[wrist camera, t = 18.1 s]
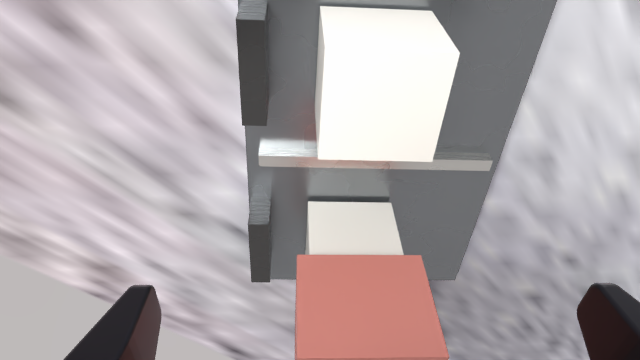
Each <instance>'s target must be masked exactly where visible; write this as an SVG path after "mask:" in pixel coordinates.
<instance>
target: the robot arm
mask: <svg viewBox="0 0 640 360" xmlns="http://www.w3.org/2000/svg"><path fill="white" fill-rule="evenodd" d="M577 317H578V321H579V324H580V328H581V331H582V334H583V338H584V341H585V344H586V348H587V351H588V354H589V357H590V360H640V302H639V301H637V300H636V299H635V298H633V297H632V296H631V295H629V294H628V293H627V292H626V291H624V290H623V289H622V288H620V287H619V286H617V285H615V284H612V283H595V284H593V285H591V286H590V288H589V289H588V291H587V292H586V294H585V295H584V297H583V299H582V300H581V302H580V303H579V305H578V308H577ZM160 324H161V308H160V305H159V301H158V298H157V295H156V291H155V289H154V287H153V286H152V285H133V286H131V287H130V288H128V289H127V291H126V292H125V293H124V294H123V295H122V296H121V297H120V298H119V299H118V300H117V302H116V303H115V304H114V305H113V306H112V307H111V308H110V309H109V310H108V311H107V313H106V314H105V315H104V316H103V317H102V318H101V319H100V320H99V321H98V322H97V324H96V325H95V326H94V327H93V328H92V329H91V330H90V331H89V332H88V333H87V334H86V336H85V337H84V338H83V339H82V340H81V341H80V342H79V343H78V344H77V345H76V347H75V348H74V349H73V350H72V351H71V352H70V353H69V354H68V355H67V356H66V357H65V359H64V360H155V355H156V349H157V343H158V336H159V330H160Z"/></svg>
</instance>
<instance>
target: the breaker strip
mask: <svg viewBox="0 0 640 360" xmlns="http://www.w3.org/2000/svg"><path fill="white" fill-rule="evenodd" d="M556 2H557V0H238V9H239V10H238V14H237V17H236V28H237V45H238V62H239V79H240V96H241V113H242V125H244V126H245V136H246V154H247V172H248V190H249V208H250V213H249V221H248V231H249V248H250V265H251V281H252V282H270V279H296V270H297V255H305V250H306V230H307V211H308V201H313V202H378V203H391V204H392V208H393V212H394V216H395V221H396V225H397V229H398V233H399V237H400V242H401V246H402V250H403V254H404V255H421V257H422V260H423V264H424V268H425V271H426V275H427V278H428V280H455V278H456V276H457V273H458V270H459V267H460V265H461V262H462V259H463V257H464V254H465V251H466V248H467V246H468V243H469V240H470V237H471V235H472V232H473V229H474V226H475V224H476V221H477V218H478V216H479V213H480V210H481V207H482V205H483V202H484V199H485V196H486V194H487V191H488V188H489V185H490V183H491V180H492V177H493V174H494V172H495V169H496V166H497V164H498V161H499V158H500V155H501V153H502V150H503V147H504V144H505V142H506V139H507V136H508V133H509V131H510V128H511V125H512V122H513V120H514V117H515V114H516V112H517V109H518V106H519V103H520V101H521V98H522V95H523V92H524V90H525V87H526V84H527V81H528V79H529V76H530V73H531V70H532V68H533V65H534V62H535V60H536V57H537V54H538V51H539V49H540V46H541V43H542V40H543V38H544V35H545V32H546V29H547V27H548V24H549V21H550V19H551V16H552V13H553V10H554V8H555V5H556ZM320 6H330V7H354V8H377V9H401V10H424V11H432V12H433V13H434V15H435V16H436V18H437V19H438V21H439V22H440V24H441V25H442V27H443V28H444V30H445V31H446V33H447V34H448V36H449V37H450V39H451V40H452V42H453V43H454V45H455V46H456V48H457V49H458V51H459V52H460V55H459V59H458V63H457V67H456V70H455V74H454V78H453V82H452V86H451V90H450V94H449V98H448V102H447V106H446V110H445V114H444V118H443V121H442V125H441V129H440V133H439V137H438V141H437V145H436V149H435V153H434V157H433V161H432V162H413V161H366V160H319V159H318V153H317V136H316V119H315V92H316V74H317V55H318V36H319V18H320Z"/></svg>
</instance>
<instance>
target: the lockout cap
mask: <svg viewBox="0 0 640 360" xmlns="http://www.w3.org/2000/svg"><path fill="white" fill-rule="evenodd" d="M448 359H449V354H448V351H447V347H446V343H445V340H444V336H443V333H442V329H441V325H440V322H439V318H438V314H437V311H436V307H435V304H434V300H433V296H432V293H431V289H430V286H429V282H428V278H427V275H426V271H425V268H424V264H423V260H422V257H421V255H297V270H296V310H295V360H448Z"/></svg>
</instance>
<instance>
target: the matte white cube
mask: <svg viewBox="0 0 640 360" xmlns="http://www.w3.org/2000/svg"><path fill="white" fill-rule="evenodd" d="M305 255H404V254H403V250H402V246H401V242H400V237H399V233H398V229H397V225H396V221H395V216H394V212H393V208H392V204H391V203H378V202H313V201H308V211H307V230H306V250H305Z"/></svg>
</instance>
